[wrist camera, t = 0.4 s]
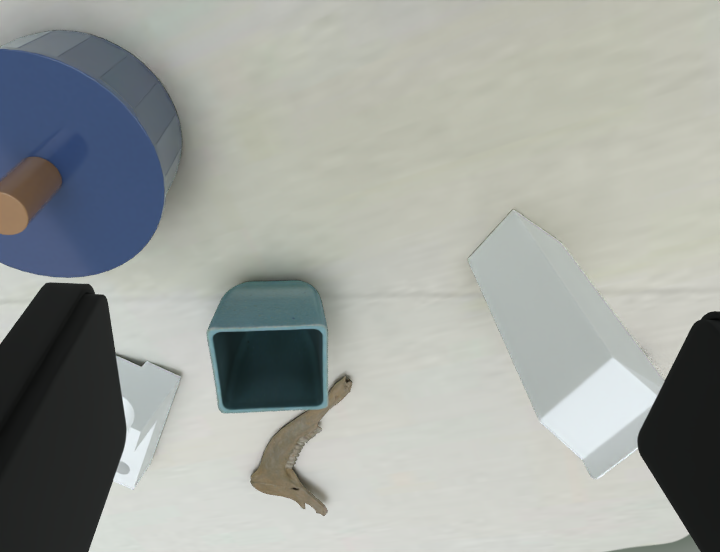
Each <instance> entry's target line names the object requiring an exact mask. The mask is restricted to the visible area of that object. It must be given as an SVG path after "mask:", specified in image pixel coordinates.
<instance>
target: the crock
mask: <svg viewBox="0 0 720 552" xmlns="http://www.w3.org/2000/svg"><path fill="white" fill-rule="evenodd" d="M0 47H13V48H25V49H30V50H35V51H40V52H44V53H47V54H50V55H53V56H56V57H59V58H62V59H65V60H67V61H69V62H71V63H73V64H75V65H78V66H80V67H82V68H83V69H85V70H87V71H88V72H90V73H92V74H93V75H95V76H97V77H98V78H100V79H101V80H102V81H104V82H105V83H106V84H108V85H109V86H110V87H112V88H113V89H114V90H115V91H116V92H117V93H118V94H119V95H120V96H121V97H123V98H124V99H125V100H126V101H127V102H128V103H129V105H130V106H131V107H132V108H133V109H134V110H135V112H136V113H137V114H138V115H139V117H140V118H141V119H142V121H143V122H144V124H145V125H146V127H147V128H148V130H149V132H150V134H151V135H152V137H153V139H154V141H155V143H156V145H157V148H158V151H159V153H160V156H161V159H162V163H163V167H164V171H165V178H166V194H167V192H168V190H169V188H170V186H171V184H172V182H173V180H174V178H175V176H176V174H177V170H178V166H179V162H180V158H181V152H182V134H181V127H180V122H179V118H178V115H177V112H176V110H175V107H174V105H173V103H172V101H171V99H170V97H169V95H168V93H167V92H166V90H165V88H164V87H163V85H162V84H161V83H160V81H159V80H158V79H157V78H156V76H155V75H154V74H153V73H152V72H151V71H150V70H149V69H148V68H147V67H146V66H145V65H144V64H143V63H142V62H141V61H140V60H138V59H137V58H136V57H134V56H133V55H132V54H131V53H129V52H127V51H126V50H124V49H123V48H121V47H119V46H118V45H116V44H114V43H112V42H110V41H107V40H105V39H103V38H100V37H97V36H94V35H91V34H87V33H82V32H77V31H67V30H52V31H45V32H40V33H36V34H33V35H29V36H24V37H20V38H18V39H16V40H14V41H11V42H9V43H7V44H5V45H2V46H0Z"/></svg>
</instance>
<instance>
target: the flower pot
mask: <svg viewBox="0 0 720 552" xmlns="http://www.w3.org/2000/svg"><path fill="white" fill-rule="evenodd" d="M207 341H208V346H209V351H210V356H211V362H212V367H213V374H214V380H215V386H216V393H217V401H218V408H219V410H220V411H221V412H222V413H245V412H246V413H247V412H264V411H285V410H319V409H323V408H326V407H328V403H329V399H328V329H327V324H326V320H325V315H324V310H323V306H322V301H321V298H320V296H319V293H318V292H317V290H316V289H315V288H314V287H313V286H311V285H310V284H308V283H306V282H303V281H299V280H292V281H251V282H245V283H242V284H239V285H237V286H235V287H233V288H232V289H230V290H229V291H228V292H227V293H226V294H225V295H224V296H223V298H222V299H221V301H220V303H219V305H218V307H217V310H216V312H215V314H214V316H213V319H212V321H211V323H210V326H209V328H208V330H207Z"/></svg>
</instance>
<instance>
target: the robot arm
mask: <svg viewBox="0 0 720 552" xmlns="http://www.w3.org/2000/svg"><path fill="white" fill-rule="evenodd" d="M126 432H127V428H126V419H125V413H124V406H123V399H122V393H121V386H120V380H119V373H118V367H117V360H116V353H115V347H114V340H113V334H112V327H111V320H110V314H109V307H108V302H107V299H106V297H105V296H104V295H99V294H95V292H94V290H93V288H92V286H91V285H89V284H73V283H46V284H45V285H44V286H43V287H42V288H41V289H40V291H39V292H38V293H37V295H36V296H35V297H34V299H33V300H32V302H31V303H30V304H29V306H28V307H27V308H26V310H25V311H24V313H23V314H22V315H21V317H20V318H19V319H18V321H17V322H16V323H15V325H14V326H13V328H12V329H11V330H10V332H9V333H8V334H7V336H6V337H5V339H4V340H3V341H2V343H1V344H0V552H88V551H89V548H90V545H91V542H92V539H93V536H94V534H95V531H96V528H97V525H98V522H99V519H100V516H101V514H102V511H103V508H104V505H105V502H106V499H107V496H108V493H109V491H110V488H111V485H112V482H113V479H114V476H115V473H116V471H117V468H118V465H119V462H120V459H121V456H122V453H123V450H124V447H125V442H126ZM637 444H638V450H639V453H640V455H641V457H642V458H643V460H644V462H645V463H646V465H647V466H648V468H649V470H650V471H651V473H652V474H653V476H654V478H655V479H656V481H657V482H658V484H659V486H660V487H661V489H662V490H663V492H664V494H665V495H666V497H667V498H668V500H669V502H670V503H671V505H672V506H673V508H674V510H675V511H676V513H677V514H678V516H679V518H680V519H681V521H682V522H683V524H684V526H685V527H686V529H687V530H688V532H689V534H690V535H691V537H692V538H693V540H694V541H695V543H696V545H697V546H698V548H699V549H700V551H701V552H720V312H716V311H714V312H709V313H707V314H706V315H704V316H703V317H702V319H701V320H699V321H697V322H696V323H694V325H693V326H692V328H691V330H690V332H689V334H688V336H687V338H686V340H685V342H684V344H683V346H682V348H681V350H680V352H679V354H678V356H677V358H676V360H675V362H674V364H673V366H672V368H671V370H670V372H669V374H668V376H667V378H666V380H665V382H664V383H663V385H662V387H661V389H660V391H659V393H658V395H657V397H656V399H655V401H654V403H653V405H652V407H651V409H650V411H649V413H648V415H647V417H646V419H645V421H644V423H643V425H642V427H641V429H640V431H639V434H638V438H637Z"/></svg>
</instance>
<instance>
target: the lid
mask: <svg viewBox="0 0 720 552" xmlns="http://www.w3.org/2000/svg"><path fill="white" fill-rule="evenodd" d="M165 202H166V178H165V171H164V167H163V163H162V159H161V156H160V153H159V151H158V148H157V145H156V143H155V141H154V139H153V137H152V135H151V134H150V132H149V130H148V128H147V127H146V125H145V124H144V122H143V121H142V119H141V118H140V117H139V115H138V114H137V113H136V112H135V110H134V109H133V108H132V107H131V106H130V105H129V103H128V102H127V101H126V100H125V99H124V98H123V97H121V96H120V95H119V94H118V93H117V92H116V91H115V90H114V89H113V88H112V87H110V86H109V85H108V84H106V83H105V82H104V81H102V80H101V79H100V78H98V77H97V76H95V75H93V74H92V73H90V72H88V71H87V70H85V69H83V68H82V67H80V66H78V65H75V64H73V63H71V62H69V61H67V60H65V59H62V58H59V57H56V56H53V55H50V54H47V53H44V52H40V51H35V50H30V49H25V48H13V47H0V263H3V264H5V265H7V266H10V267H13V268H15V269H18V270H21V271H25V272H29V273H33V274H37V275H43V276H50V277H65V278H71V277H84V276H90V275H96V274H99V273H103V272H106V271H109V270H112V269H114V268H116V267H118V266H120V265H122V264H124V263H125V262H127V261H129V260H130V259H132V258H133V257H134V256H135V255H137V254H138V253H139V252H140V251H141V250H142V249H143V248H144V247H145V246H146V244H147V243H148V242H149V241H150V240H151V238H152V236H153V234H154V233H155V231H156V229H157V227H158V225H159V223H160V220H161V217H162V215H163V211H164V206H165Z"/></svg>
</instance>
